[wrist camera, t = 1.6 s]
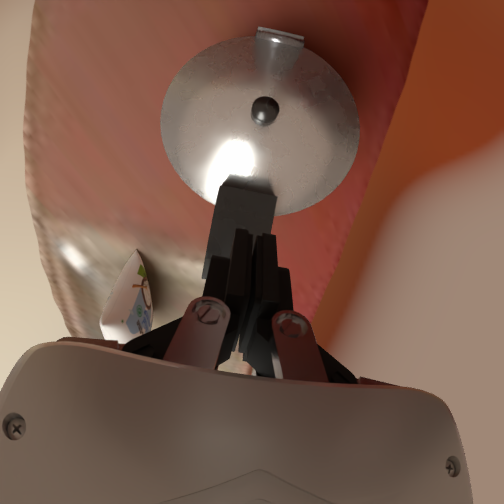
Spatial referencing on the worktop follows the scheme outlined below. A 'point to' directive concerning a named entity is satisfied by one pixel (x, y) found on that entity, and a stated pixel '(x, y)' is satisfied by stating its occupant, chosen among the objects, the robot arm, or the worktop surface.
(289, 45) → the cooker lid
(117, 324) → the pouch
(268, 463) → the robot arm
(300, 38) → the cooker pot
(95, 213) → the worktop surface
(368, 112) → the worktop surface
